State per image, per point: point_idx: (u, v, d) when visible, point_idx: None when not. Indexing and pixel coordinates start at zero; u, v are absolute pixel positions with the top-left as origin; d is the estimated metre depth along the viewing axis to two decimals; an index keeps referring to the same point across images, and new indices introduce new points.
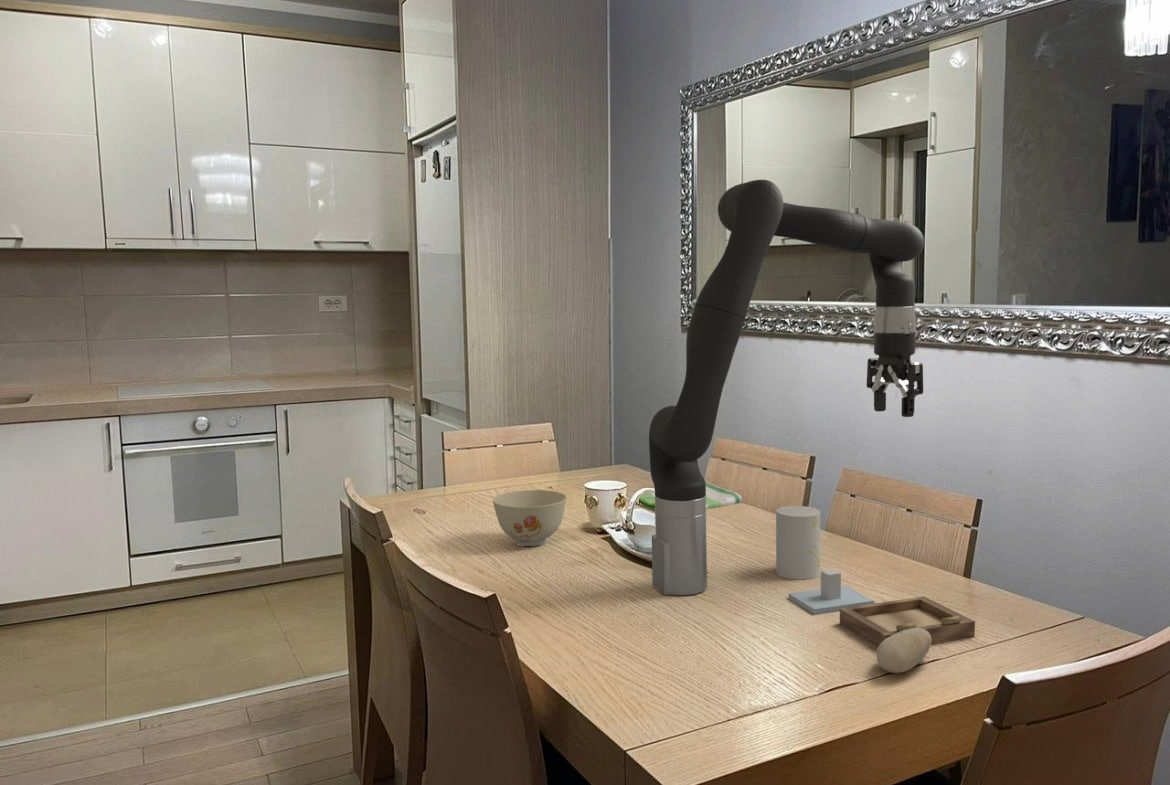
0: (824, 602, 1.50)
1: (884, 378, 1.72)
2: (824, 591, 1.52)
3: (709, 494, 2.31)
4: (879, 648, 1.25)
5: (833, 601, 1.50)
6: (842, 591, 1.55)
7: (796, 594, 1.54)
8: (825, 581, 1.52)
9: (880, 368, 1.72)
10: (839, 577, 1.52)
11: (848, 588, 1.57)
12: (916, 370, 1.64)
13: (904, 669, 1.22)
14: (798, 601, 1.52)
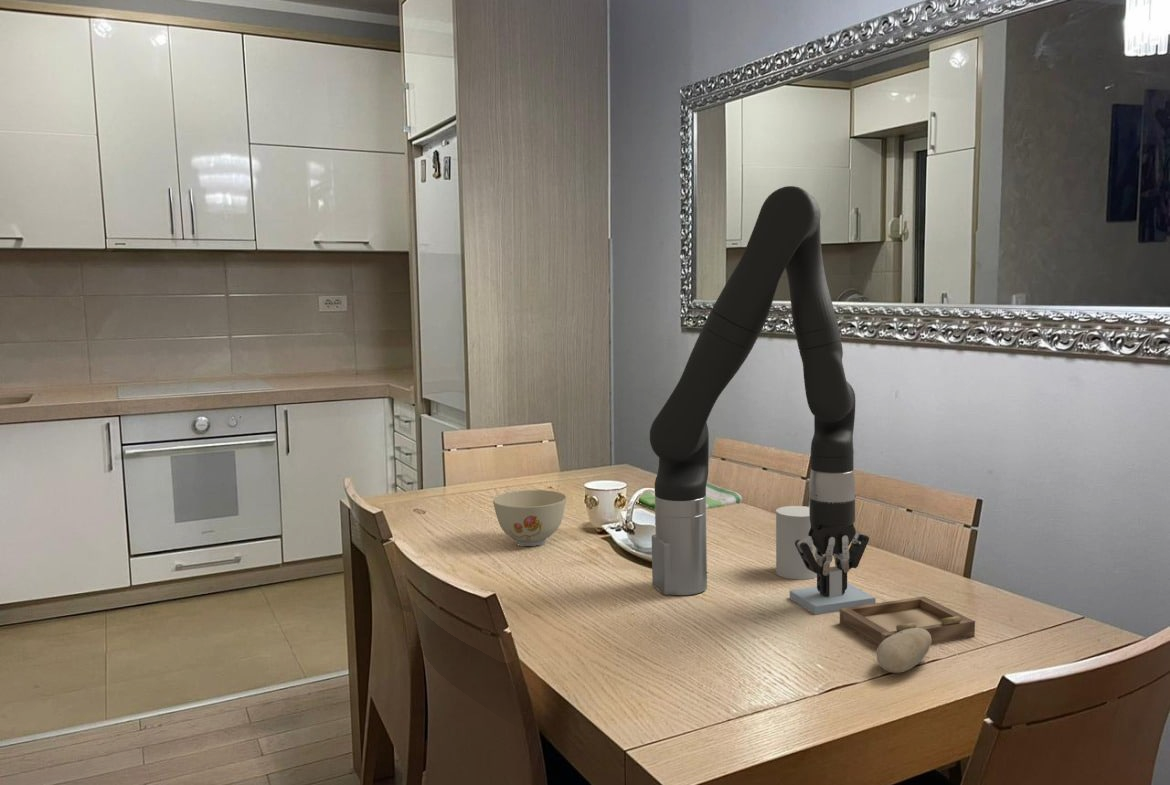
0: (826, 599, 1.50)
1: (833, 549, 1.51)
2: None
3: (709, 494, 2.31)
4: (879, 648, 1.25)
5: (834, 598, 1.50)
6: None
7: (797, 591, 1.54)
8: None
9: (830, 542, 1.49)
10: (840, 575, 1.51)
11: (849, 585, 1.57)
12: None
13: (904, 669, 1.22)
14: (799, 598, 1.52)
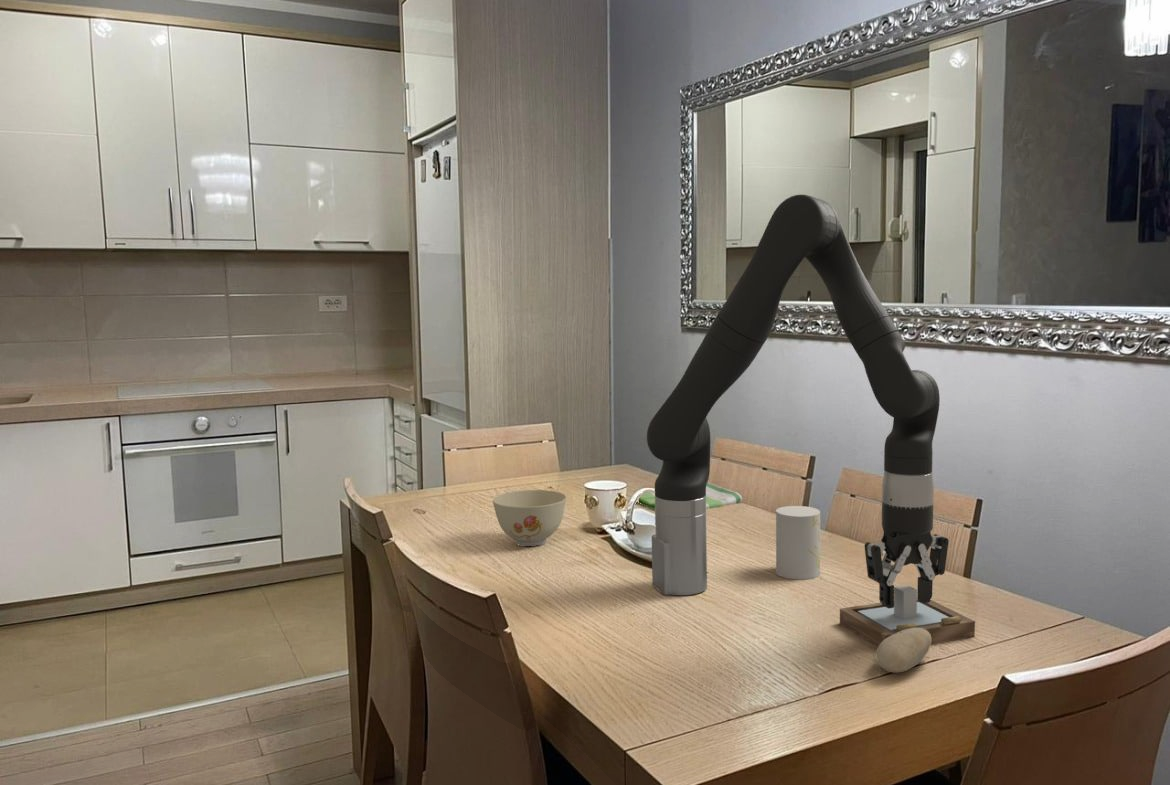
0: (900, 622, 1.37)
1: (905, 561, 1.37)
2: (899, 609, 1.39)
3: (709, 494, 2.31)
4: (879, 648, 1.25)
5: (909, 620, 1.37)
6: (916, 608, 1.42)
7: (866, 612, 1.41)
8: (899, 598, 1.39)
9: (906, 550, 1.36)
10: (915, 594, 1.38)
11: (922, 605, 1.44)
12: None
13: (904, 669, 1.22)
14: None
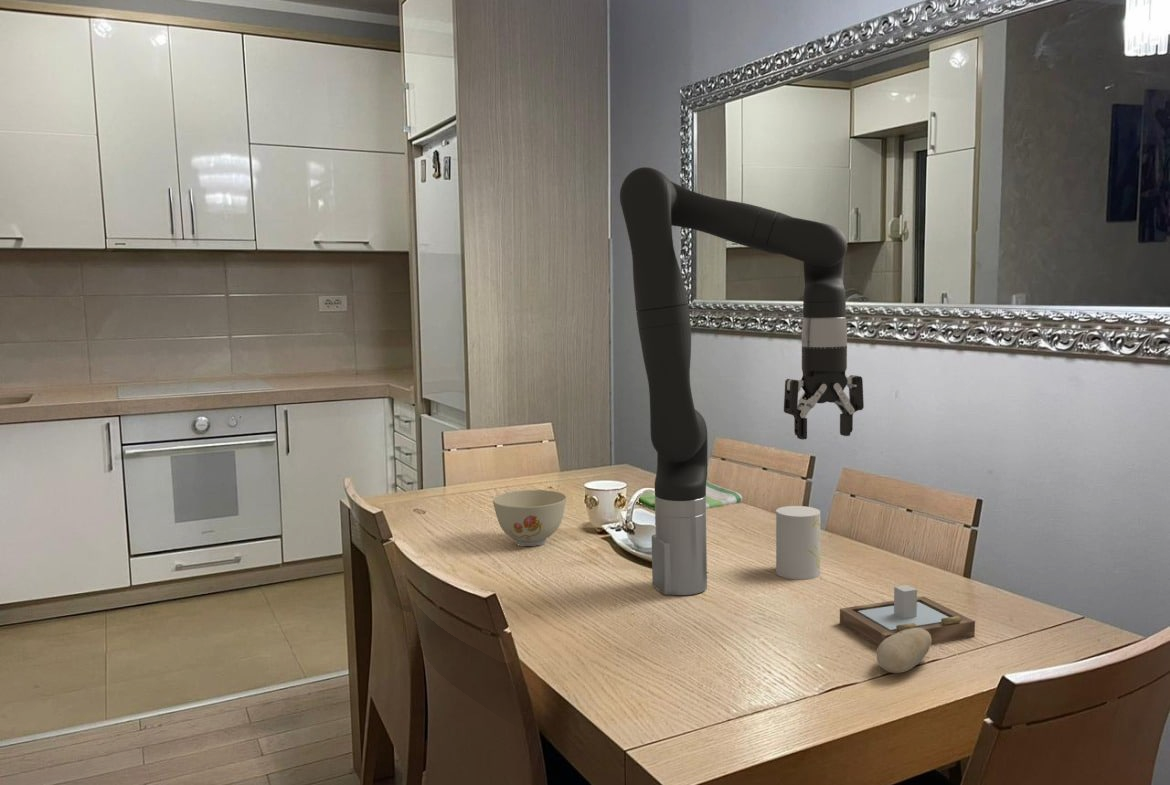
0: (900, 622, 1.37)
1: (819, 399, 1.52)
2: (899, 609, 1.39)
3: (710, 494, 2.31)
4: (879, 648, 1.25)
5: (909, 620, 1.37)
6: (916, 608, 1.42)
7: (866, 612, 1.41)
8: (899, 598, 1.39)
9: (821, 388, 1.51)
10: (915, 594, 1.38)
11: (922, 605, 1.44)
12: None
13: (904, 669, 1.22)
14: None
